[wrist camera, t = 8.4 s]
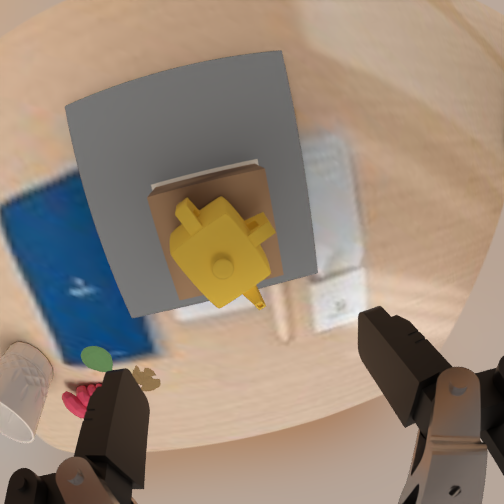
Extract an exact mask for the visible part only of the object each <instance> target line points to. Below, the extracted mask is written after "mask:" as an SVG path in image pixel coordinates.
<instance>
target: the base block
mask: <svg viewBox="0 0 504 504" xmlns="http://www.w3.org/2000/svg"><path fill="white" fill-rule="evenodd" d="M220 196H222V197H224V198H225V199H226V200H227V201H228V202H229V203H230V204H231V205H232V206H233V207H234V209H235V210H236V211H237V212H238V213H239V215H240V216H241V217H242V218H243V220H244V221H245V220H247V219H249V218H251V217H253V216H255V215H257V214H259V213H262V212H263V213H264V214H265V216H266V217H267V219H268V220H269V222H270V223H271V225H272V227H273V228H274V230H275V232H276V227H275V221H274V215H273V210H272V204H271V199H270V193H269V188H268V182H267V177H266V172H265V168H263V167H261V166H259V165H257V164H255V163H254V164H249V165H244V166H240V167H235V168H231V169H226V170H222V171H217V172H213V173H209V174H205V175H201V176H197V177H193V178H189V179H185V180H181V181H177V182H173V183H170V184H166V185H162V186H159V187H155V188H154V190H153V191H152V192H151V193H150V194H149V196H148V197H147V200H148V203H149V207H150V210H151V214H152V217H153V220H154V224H155V227H156V230H157V234H158V237H159V240H160V243H161V247H162V250H163V253H164V256H165V259H166V262H167V265H168V268H169V271H170V274H171V277H172V280H173V283H174V286H175V289H176V291H177V294H178V297H179V300H184V299H189V298H193V297H197V296H201V295H204V294H203V293H202V292H201V291H200V290H199V289H198V288H197V287H196V286H195V285H194V284H193V283H192V281H191V280H190V279H189V278H188V277H187V276H186V274H185V273H184V272H183V271H182V269H181V268H180V267H179V266H178V264H177V263H176V262H175V260H174V259H173V257H172V256H171V254H170V235H171V233H172V232H173V231H174V230H175V229H176V228H177V227H178V226H180V225H181V224H182V223H181V222H180V221H179V219H178V218H177V217H176V215H175V211H176V206H177V205H178V204H179V203H180V202H182V201H183V200H184V199H186V198H187V197H188V199H189V200H190V201H191V202H192V203H193V204H194V205H195V206H196V208H197V209H198V210H201V209H202V208H203V207H205V206H206V205H208V204H209V203H211V202H212V201H214V200H215V199H217V198H218V197H220ZM260 245H261V247H262V249H263V250H264V252H265V255H266V257H267V259H268V262H269V266H270V270H271V274H270V275H269V276H268V277H266V278H265V279H264V280H266V279H270V278H274V277H278V276H281V275H284V274H283V268H282V262H281V256H280V250H279V244H278V238H277V233H275V234H273V235H272V236H271V237H269V238H268V239H267V240H265V241H264V242H262V243H261V244H260Z"/></svg>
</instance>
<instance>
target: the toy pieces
mask: <svg viewBox="0 0 504 504" xmlns="http://www.w3.org/2000/svg"><path fill="white" fill-rule="evenodd" d="M81 358H82V361H83V363H84V364H85V365H86V366H87V367H88V368H91V369H93V370H97V371H100V372H107V371H111V370H112V366H113V363H112V358H111V355H110V354H109V353H108V352H107V351H106V350H105V349H103V348H100V347H97V346H90V347H87V348H85V349H84V350H83V351H82V354H81ZM139 371H140V370H139V368H138V367H137V366H135V370H133V374H132V375H133V377H134V378H135V380H136V382H137V383H138V384H140V385H143V386H142V387H141V390H142V391H151V390H154V389H156V388H158V387H159V386H160V379H153V378H152V377H151V376H154V375H156V374H155V373H154V371H153V370H151V369H149V368H145V369H144V372H139ZM99 386H102V384H96V386H94V385H93V384H92V385H89V386H88V387H86V386H79V387H77V389H76V396H77V397H76V396H75V395H73V394H72V393H70V392H67V391H66V392H65V393H63V395H62V400H63V402H64V404H65V406H66V408H67V409H68V410H69V411H70V412H72V413H73V414H74V415H76V416H78V417H80V418H84V415H85V412H86V411H87V410H86V408H87V405H88V402H89V398H90V396H91V395H92V394H93V392H94V391H95V390H96V388H97V387H99Z"/></svg>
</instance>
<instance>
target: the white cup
mask: <svg viewBox="0 0 504 504" xmlns="http://www.w3.org/2000/svg"><path fill="white" fill-rule="evenodd" d="M52 378H53V370H52V366H51V365H50V363H49V361H48V359H47V358H46V357H45V356H44V355H43V354H42V353H41V352H40V351H39V350H38V349H36V348H35V347H33V346H31V345H30V344H28V343H23V342H16V343H13V344H11V346H10V347H9V348H8V350H7V351H6V352H5V354H4V355H3V356H2V357H1V358H0V433H2V434H3V435H5V436H7V437H9V438H10V439H13V440H15V441H18V442H22V443H31V442H32V441H33V440H34V437H35V434H36V430H37V427H38V423H39V420H40V417H41V414H42V410H43V407H44V403H45V400H46V397H47V393H48V389H49V386H50V383H51V381H52Z"/></svg>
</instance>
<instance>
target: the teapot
mask: <svg viewBox="0 0 504 504" xmlns="http://www.w3.org/2000/svg"><path fill="white" fill-rule="evenodd" d="M175 215H176V217H177V218H178V219H179V221H180V222H181V223H182V224H181V225H180V226H178V227H177V228H176V229H175V230H174V231H173V232H172V233H171V235H170V254H171V256H172V257H173V259H174V260H175V262H176V263H177V264H178V266H179V267H180V268H181V269H182V271H183V272H184V273H185V274H186V276H187V277H188V278H189V279H190V280H191V281H192V283H193V284H194V285H195V286H196V287H197V288H198V289H199V290H200V291H201V292H202V293H203V294H204V295H205V297H206V298H207V299H208V300H209V301H210V302H212V303H213V304H214V305H215V306H216V307H217V308H222V307H223V306H225V305H227V304H228V303H230V302H231V301H233V300H234V299H236V298H237V297H239V296H240V295H242V294H243V295H244V296H245V297H246V298H247V299H248V300H249V301H251V302H252V303H253V304H254V305H255V306H256V307H257V308H258V309H259V310H261V309H262V308H264V307H265V306H266V305H265V303H264V300H263V298H262V296H261V294H260V292H259V290H258V287H257V284H258V283H259V282H261V281H262V280H264V279H265V278H266V277H268V276H269V275H270V274H271V270H270V266H269V262H268V259H267V257H266V255H265V252H264V250H263V249H262V247H261V245H260V244H261V243H262V242H264V241H265V240H267V239H268V238H269V237H271V236H272V235H273V234H275V233H276V232H275V230H274V228H273V227H272V225H271V223H270V222H269V220H268V219H267V217H266V216H265V214H264V213H263V212H262V213H259V214H257V215H255V216H253V217H251V218H249V219H247V220H245V221H244V220H243V218H242V217H241V216H240V215H239V213H238V212H237V211H236V210H235V209H234V207H233V206H232V205H231V204H230V203H229V202H228V201H227V200H226V199H225V198H224V197H222V196H220V197H218V198H217V199H215V200H214V201H212V202H211V203H209V204H208V205H206V206H205V207H203V208H202V209H201V210H198V209H197V208H196V206H195V205H194V204H193V203H192V202H191V201H190V200H189V199H188V197H187V198H186V199H184V200H183V201H182V202H180V203H179V204H178V205H177V206H176V211H175Z"/></svg>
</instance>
